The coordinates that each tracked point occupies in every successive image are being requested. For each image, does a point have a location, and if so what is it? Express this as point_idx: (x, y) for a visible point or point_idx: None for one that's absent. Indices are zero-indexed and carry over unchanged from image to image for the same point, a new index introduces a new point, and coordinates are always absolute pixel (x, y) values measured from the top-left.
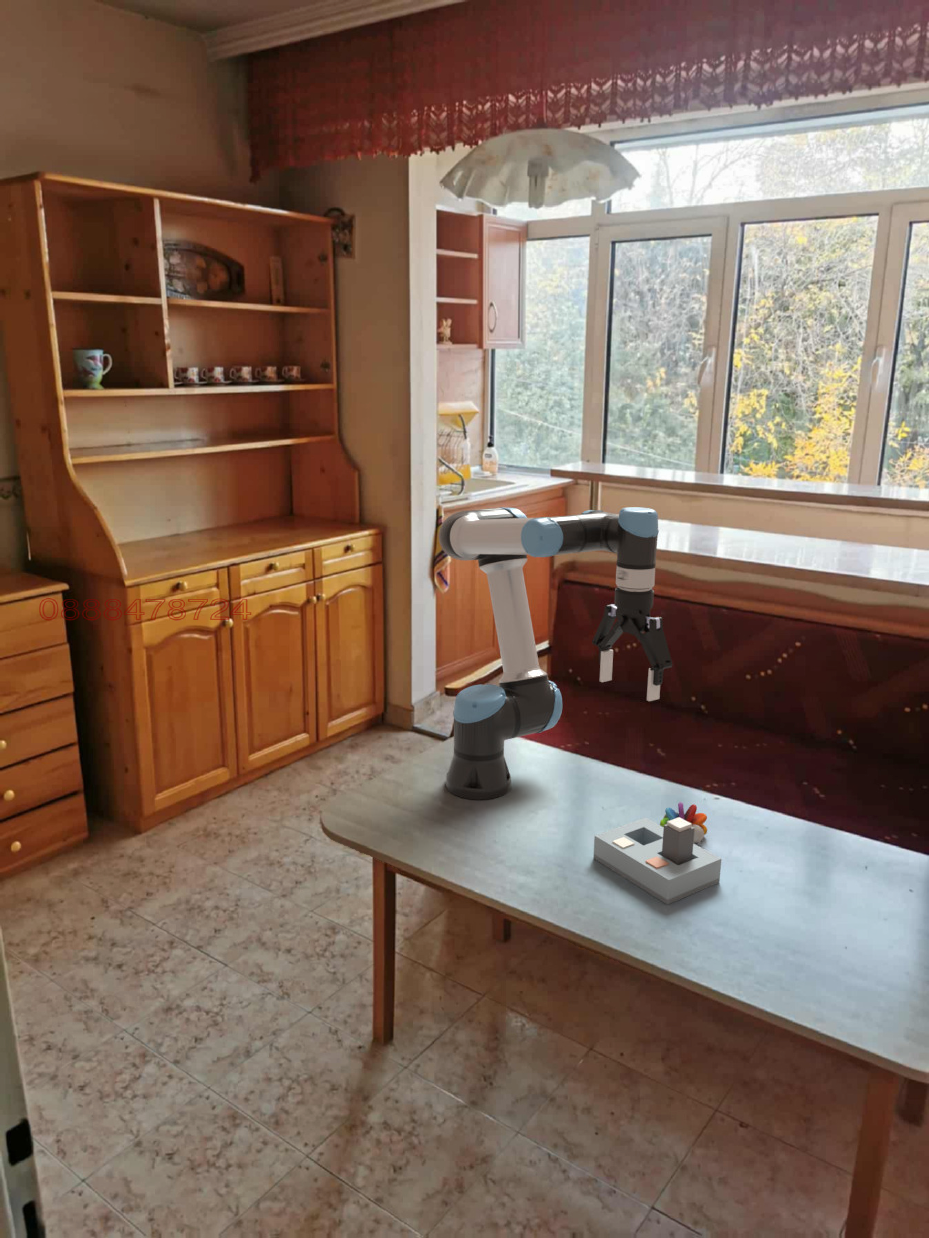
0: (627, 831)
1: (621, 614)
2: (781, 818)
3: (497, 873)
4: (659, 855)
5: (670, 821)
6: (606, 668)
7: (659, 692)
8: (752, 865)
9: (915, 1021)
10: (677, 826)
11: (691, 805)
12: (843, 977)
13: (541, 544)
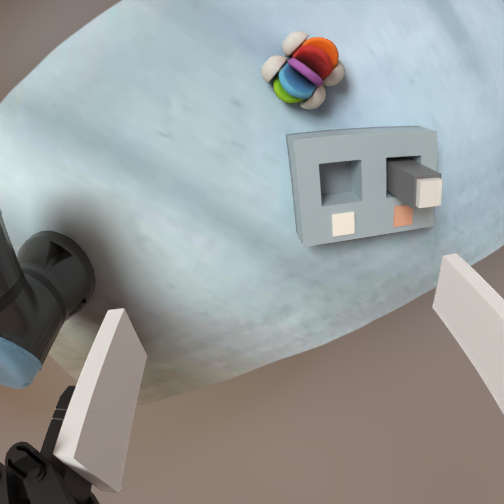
0: (317, 196)
1: None
2: None
3: (271, 335)
4: (392, 199)
5: (421, 203)
6: (124, 391)
7: (472, 270)
8: (408, 57)
9: None
10: (435, 204)
11: (312, 52)
12: None
13: None
